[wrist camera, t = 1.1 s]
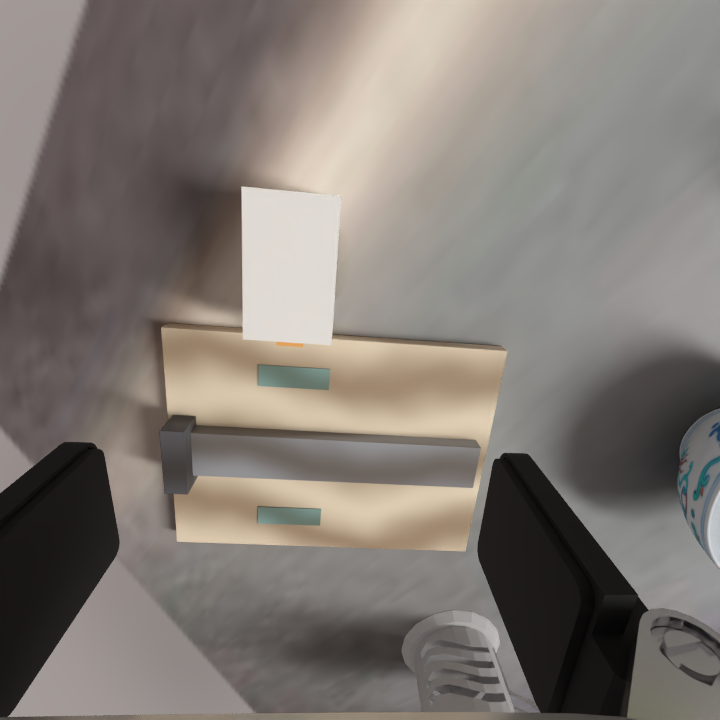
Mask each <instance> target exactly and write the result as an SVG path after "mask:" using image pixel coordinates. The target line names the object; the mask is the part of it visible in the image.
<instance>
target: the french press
mask: <svg viewBox="0 0 720 720" xmlns="http://www.w3.org/2000/svg"><path fill="white" fill-rule="evenodd" d="M499 645H500V642H499V636H498V630H497V629H496V628H495V627H494V625H493V624H492V623H491V622H490V621H489V620H488V619H487V618H485V617H483V616H480V615H478V614H476V613H474V612H469V611H457V610H451V611H446V612H442V613H437V614H433V615H431V616H429V617H427V618H425V619H424V620H422V621H420V622H418V623H417V624H415V625H414V627H413V628H412V629H411V630H410V631H409V632H408V634H407V635H406V636H405V638H404V642H403V646H402V650H401V652H402V655H403V658H404V662H405V664H406V665H407V666H408V667H409V668H410V669H411V670H412V671H413V672H414V673H415V674H416V679H417V685H418V691H419V697H420V703H421V709H422V712H510V713H515V711H517V712H519V713H528V712H526V711H523V710H521V709H519V708H516V707H514V706H513V705H512V702H511V699H510V696H509V694H510V695H512V696H514V697H516V698H519V699H521V700H523V701H525V702H527V703H529V704H530V705H532V706H533V707H535V708H536V709H537V710H539V709H538V707H537V705H535V704H534V703H533V702H531V701H530V700H529V699H526V698H524V697H522V696H520V695H517V694H515V693H513V692H512V691H510V690H509V687H508V685H507V682H506V679H505V677H504V674H503V671H502V668H501V666H500V663H499V660H498V657H497V655H496V653H497V650H498V647H499ZM427 685H428V686H429V687H428V689H427ZM434 690H435V691H437V692H439V693H440V694H442V695H439V696H437V697H436V696H435V695H433V694H432V692H433V691H434ZM480 692H484V693H485V695H484V696H483V698H482V699H481V700H479V699H475V698H474V697H476V696H477V695H479V693H480ZM429 699H430V700H431V701H433V703H432V705H431V706H430V700H429Z"/></svg>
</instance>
